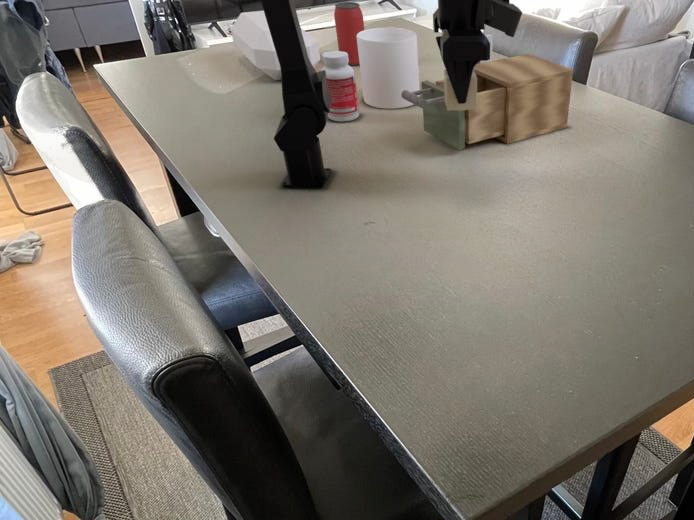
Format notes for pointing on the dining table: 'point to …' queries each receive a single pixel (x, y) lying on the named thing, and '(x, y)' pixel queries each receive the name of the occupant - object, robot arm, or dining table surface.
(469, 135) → the drawer
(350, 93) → the pill bottle
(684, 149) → the dining table surface
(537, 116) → the cabinet
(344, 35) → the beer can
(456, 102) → the block
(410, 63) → the cup
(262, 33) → the crystal
